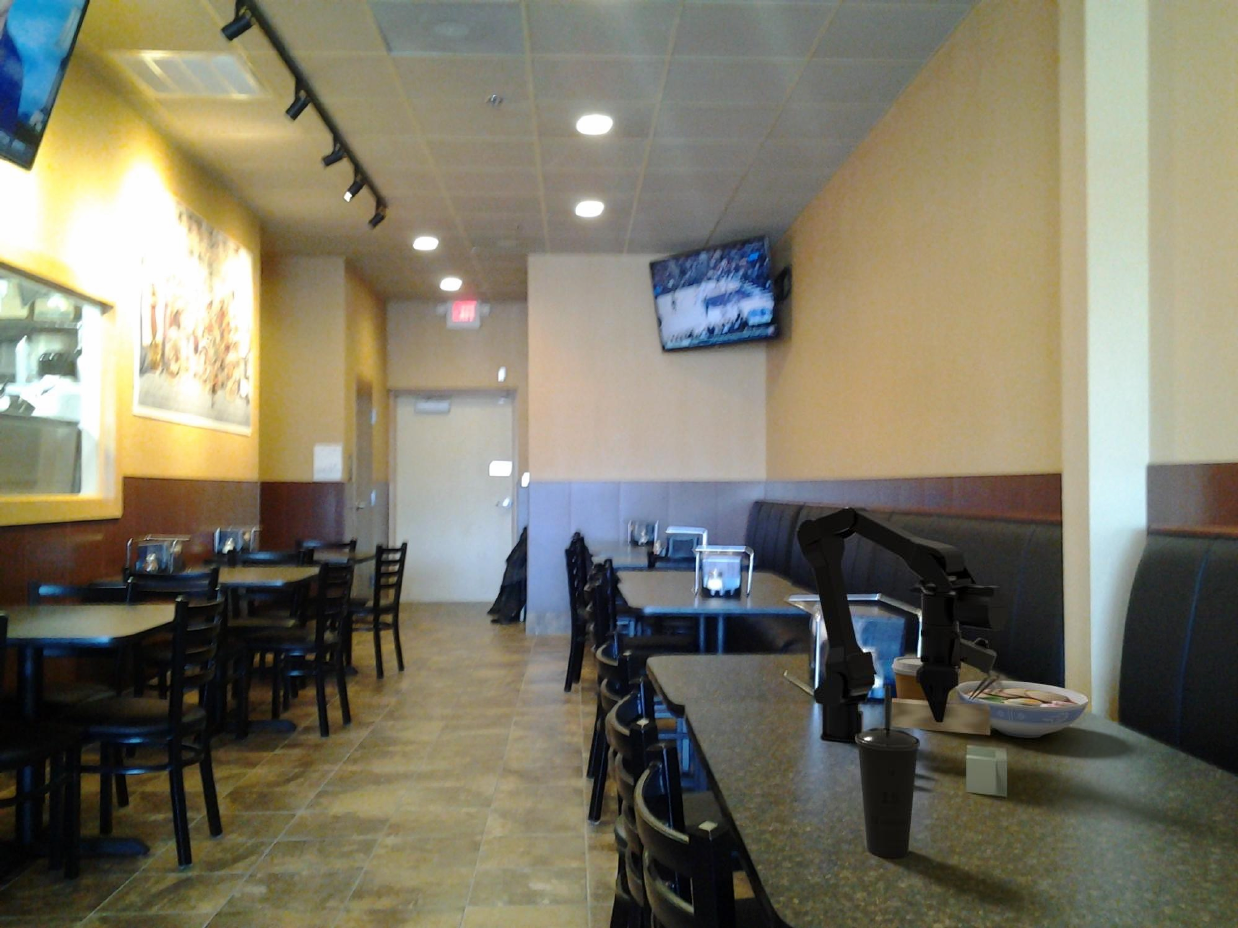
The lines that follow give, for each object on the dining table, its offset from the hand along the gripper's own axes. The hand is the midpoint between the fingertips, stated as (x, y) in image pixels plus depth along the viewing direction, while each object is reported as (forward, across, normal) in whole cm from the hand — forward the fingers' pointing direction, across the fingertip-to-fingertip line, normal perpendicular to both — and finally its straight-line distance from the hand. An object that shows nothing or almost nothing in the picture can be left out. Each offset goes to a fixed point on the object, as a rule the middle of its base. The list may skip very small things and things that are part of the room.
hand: (939, 719), depth 152 cm
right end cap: (+7, -10, -6) cm, 14 cm away
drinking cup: (+7, -42, +4) cm, 43 cm away
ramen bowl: (+7, +27, -13) cm, 31 cm away
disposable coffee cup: (+7, +26, +5) cm, 28 cm away
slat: (+1, 0, 0) cm, 1 cm away
